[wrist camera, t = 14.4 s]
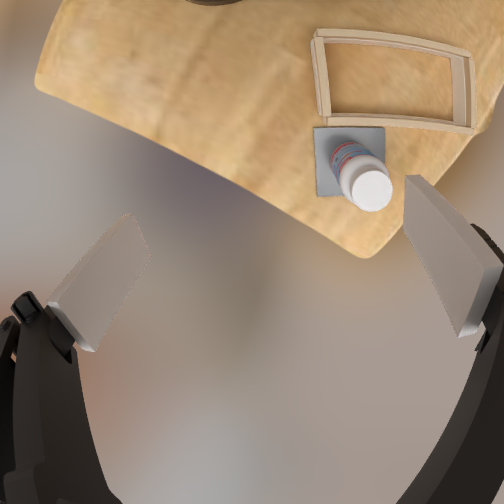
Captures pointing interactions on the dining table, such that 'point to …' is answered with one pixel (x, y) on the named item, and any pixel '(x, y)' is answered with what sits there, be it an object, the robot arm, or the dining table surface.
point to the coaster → (334, 137)
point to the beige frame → (458, 57)
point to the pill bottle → (361, 176)
